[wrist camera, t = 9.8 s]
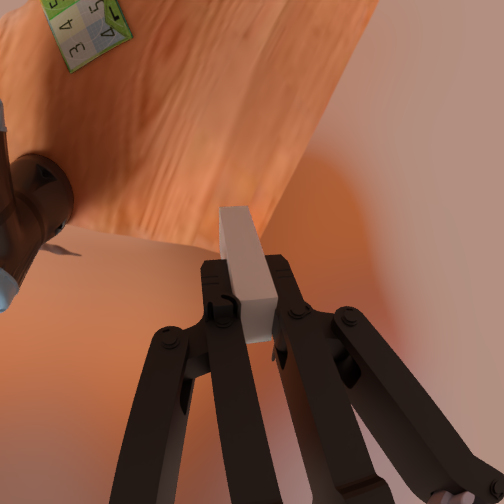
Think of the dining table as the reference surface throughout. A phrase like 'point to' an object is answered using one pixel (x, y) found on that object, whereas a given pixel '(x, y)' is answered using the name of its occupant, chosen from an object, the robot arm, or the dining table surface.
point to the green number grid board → (85, 28)
